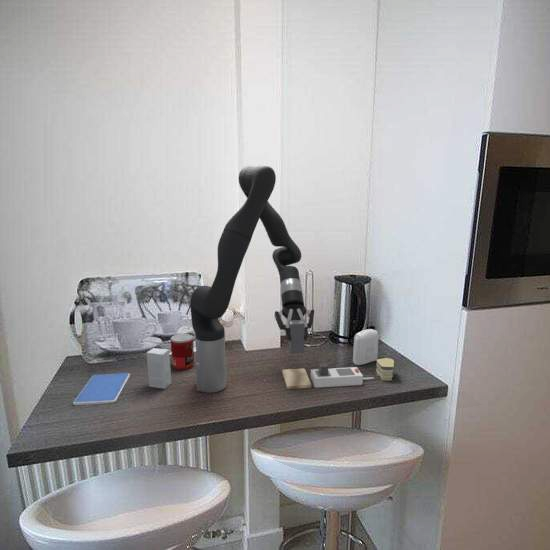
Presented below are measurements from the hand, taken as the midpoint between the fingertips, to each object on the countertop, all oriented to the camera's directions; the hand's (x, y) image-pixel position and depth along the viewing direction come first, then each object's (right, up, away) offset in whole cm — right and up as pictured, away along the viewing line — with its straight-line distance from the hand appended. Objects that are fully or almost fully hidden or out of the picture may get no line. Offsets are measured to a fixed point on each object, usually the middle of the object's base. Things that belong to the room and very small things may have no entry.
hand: (297, 339), depth 128 cm
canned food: (-41, -12, +16) cm, 46 cm away
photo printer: (+26, -11, +19) cm, 34 cm away
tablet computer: (-63, -16, 0) cm, 65 cm away
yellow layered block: (+30, -14, +7) cm, 34 cm away
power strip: (+16, -14, +4) cm, 22 cm away
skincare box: (-45, -15, +2) cm, 48 cm away
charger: (0, -4, +3) cm, 5 cm away
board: (0, -14, +5) cm, 15 cm away
